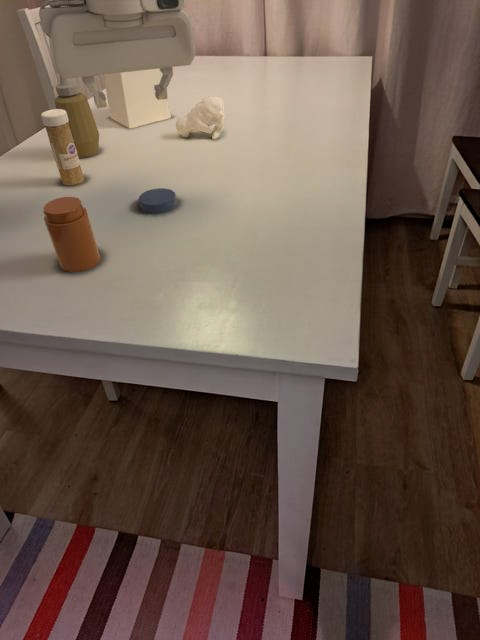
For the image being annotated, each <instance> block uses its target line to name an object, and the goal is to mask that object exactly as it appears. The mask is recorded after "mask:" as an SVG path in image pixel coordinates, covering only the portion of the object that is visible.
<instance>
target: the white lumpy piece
mask: <svg viewBox="0 0 480 640" xmlns="http://www.w3.org/2000/svg"><path fill="white" fill-rule="evenodd" d="M225 106H226V105H225V103H224V101H223V99H222V98H221V97H220V96H217V95H210V96H206V97H204V98H202V99H201V100H200V101H198V102H197V103H196V104H195V106H194V107H193V108H191V110H190V111H189V112H188V113H186V114H185V115H182V116H180V117H178V118H177V119H176V122H175V128H176V131H177V132H178V133H179V134H180V135H181V136H182V137H183V138H187V139H188V138H189V136H190V132H192V131H197V132H203V133H206V134H211V138H212V140H216V139H217V138H218V137H220V136H221V134H222V132H223V129H224V126H225V121H226V120H225V119H226V118H225V111H226V107H225ZM213 125H215V126H214V127H211V126H213Z"/></svg>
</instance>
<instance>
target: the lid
mask: <svg viewBox="0 0 480 640" xmlns="http://www.w3.org/2000/svg"><path fill="white" fill-rule="evenodd" d="M138 203H139V207H140V210H141V211H143V212H144V213H146V214H153V215H155V214H156V215H157V214H158V215H159V214H165V213H167V212H169V211H172V210H174V209H175V208H176V207H177V203H178V202H177V196H176V192H175V191H174V190H172V189H170V188H163V187H161V188H160V187H157V188H152V189H149V190H146V191H144V192H142V193H140V194H139V197H138Z"/></svg>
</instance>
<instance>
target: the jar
mask: <svg viewBox="0 0 480 640" xmlns="http://www.w3.org/2000/svg"><path fill="white" fill-rule="evenodd" d="M42 209H43V215H44V216H43V222H44V224H45V227H46V230H47V232H48V235H49V239H50V241H51V244H52V247H53V250H54V252H55V255H56V257H57V258H56V259H57V260H58V263H59V266H60V268H61V269H62V270H63V271H65V272H69V273H79V272H85V271H88V270H90V269H92V268H94V267H95V266H96V265H98V264H99V262H100V260H101V255H100V252H99V249H98V248H99V247H98V244H97V241H96V237H95V235H94V231H93V227H92V224H91V223H92V222H91V220H90V216H89V213H88V210H87V208H86V207H84V206H83V203H82V200H81V199H80V198H79V197H75V196H62V197H57V198H55V199H52V200H50V201H48V202H47V203H45V204H44V206H43V208H42Z"/></svg>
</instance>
